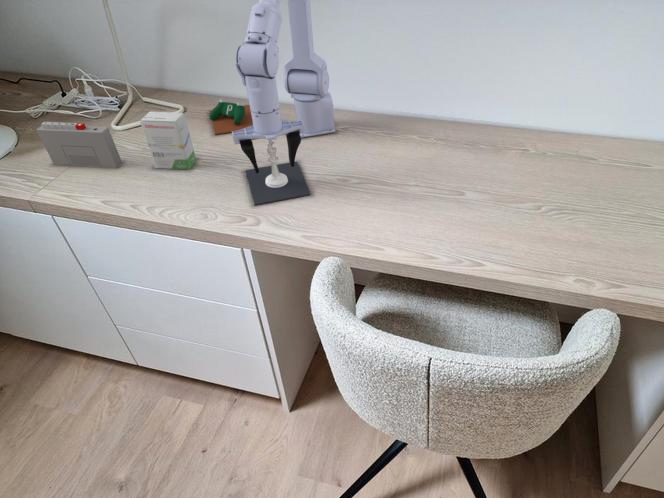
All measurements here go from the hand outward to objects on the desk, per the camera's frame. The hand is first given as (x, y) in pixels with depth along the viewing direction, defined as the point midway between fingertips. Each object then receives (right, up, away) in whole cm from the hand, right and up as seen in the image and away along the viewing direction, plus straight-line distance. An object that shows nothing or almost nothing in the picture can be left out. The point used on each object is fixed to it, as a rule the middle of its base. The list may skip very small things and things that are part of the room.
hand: (274, 167), depth 106 cm
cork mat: (-15, +18, +25) cm, 35 cm away
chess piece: (0, -3, +3) cm, 4 cm away
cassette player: (-46, +3, +10) cm, 47 cm away
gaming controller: (-16, +18, +25) cm, 35 cm away
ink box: (-25, +3, +10) cm, 27 cm away
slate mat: (0, -3, +3) cm, 4 cm away
